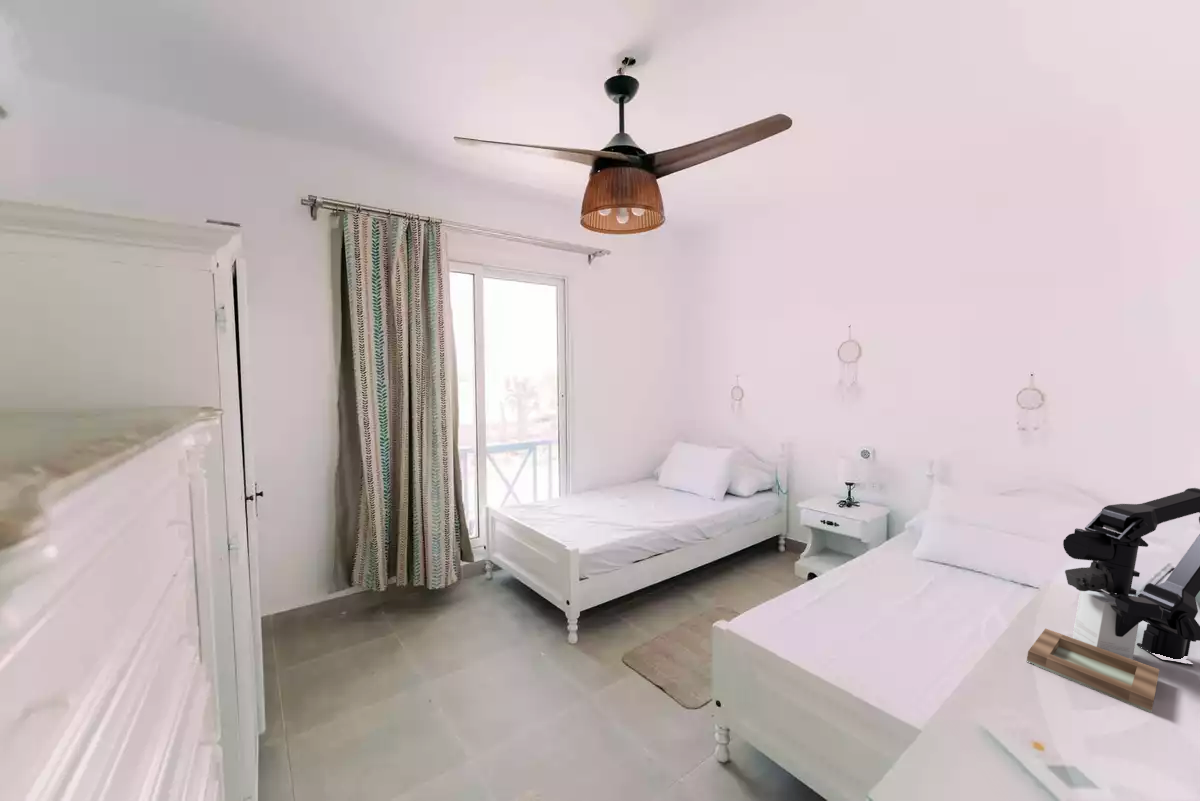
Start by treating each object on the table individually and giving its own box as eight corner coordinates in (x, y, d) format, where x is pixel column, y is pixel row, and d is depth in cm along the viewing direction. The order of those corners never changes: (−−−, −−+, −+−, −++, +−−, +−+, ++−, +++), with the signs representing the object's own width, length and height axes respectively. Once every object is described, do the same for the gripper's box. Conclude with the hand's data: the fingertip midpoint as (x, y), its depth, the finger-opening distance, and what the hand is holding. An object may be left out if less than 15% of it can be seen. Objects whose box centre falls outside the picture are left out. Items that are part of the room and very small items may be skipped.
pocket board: (1043, 638, 117) (1045, 628, 116) (1157, 680, 103) (1159, 669, 102) (1026, 661, 105) (1028, 650, 105) (1151, 713, 91) (1153, 700, 91)
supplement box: (1133, 662, 109) (1143, 608, 108) (1094, 656, 110) (1104, 602, 110) (1106, 644, 116) (1115, 593, 115) (1070, 638, 118) (1079, 588, 117)
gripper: (1047, 542, 122) (1037, 602, 124) (1108, 572, 104) (1096, 642, 105) (1099, 549, 120) (1088, 610, 122) (1171, 581, 102) (1158, 653, 103)
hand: (1104, 627), depth 113 cm, fingers closed on supplement box, 7 cm apart
